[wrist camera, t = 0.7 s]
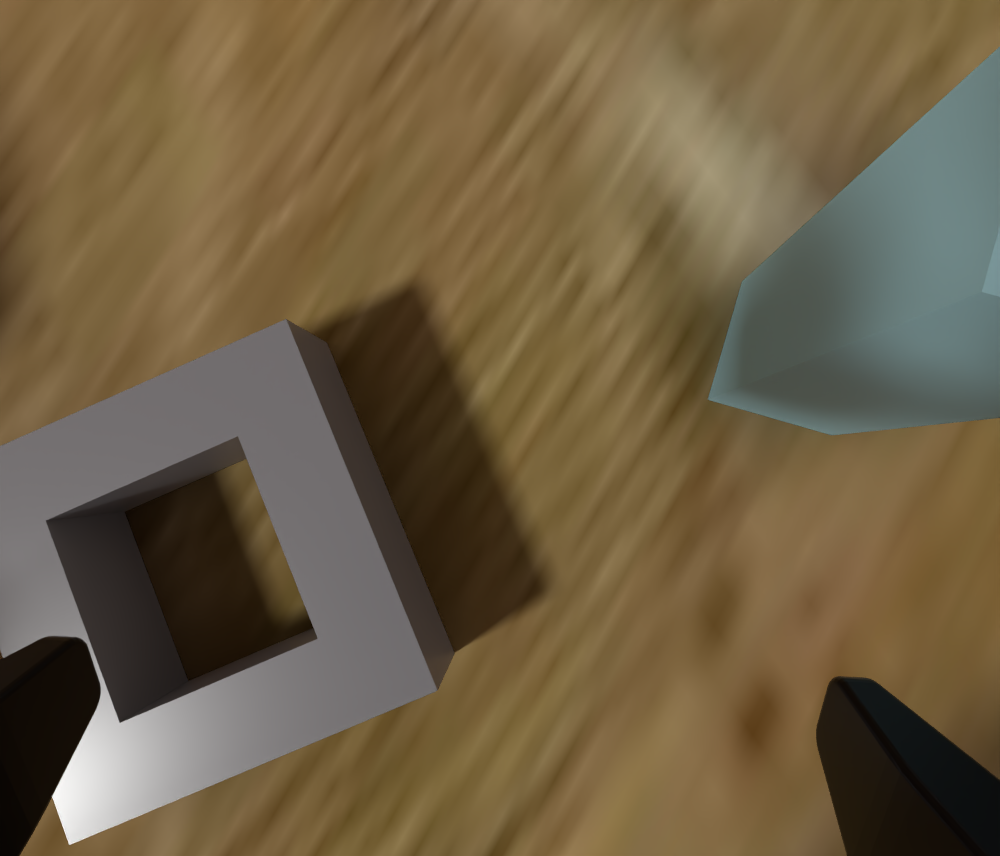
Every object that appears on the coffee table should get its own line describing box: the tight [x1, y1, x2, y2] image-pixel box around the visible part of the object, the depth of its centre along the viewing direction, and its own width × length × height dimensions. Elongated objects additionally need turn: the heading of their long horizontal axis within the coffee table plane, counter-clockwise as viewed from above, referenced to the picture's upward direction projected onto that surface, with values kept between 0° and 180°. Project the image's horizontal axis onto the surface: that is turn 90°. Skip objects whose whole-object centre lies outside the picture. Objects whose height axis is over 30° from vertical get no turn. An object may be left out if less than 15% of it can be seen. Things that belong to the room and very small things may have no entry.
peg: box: [708, 47, 1000, 435], centre depth 14 cm, size 4×4×13 cm
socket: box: [0, 319, 454, 845], centre depth 20 cm, size 11×11×4 cm
